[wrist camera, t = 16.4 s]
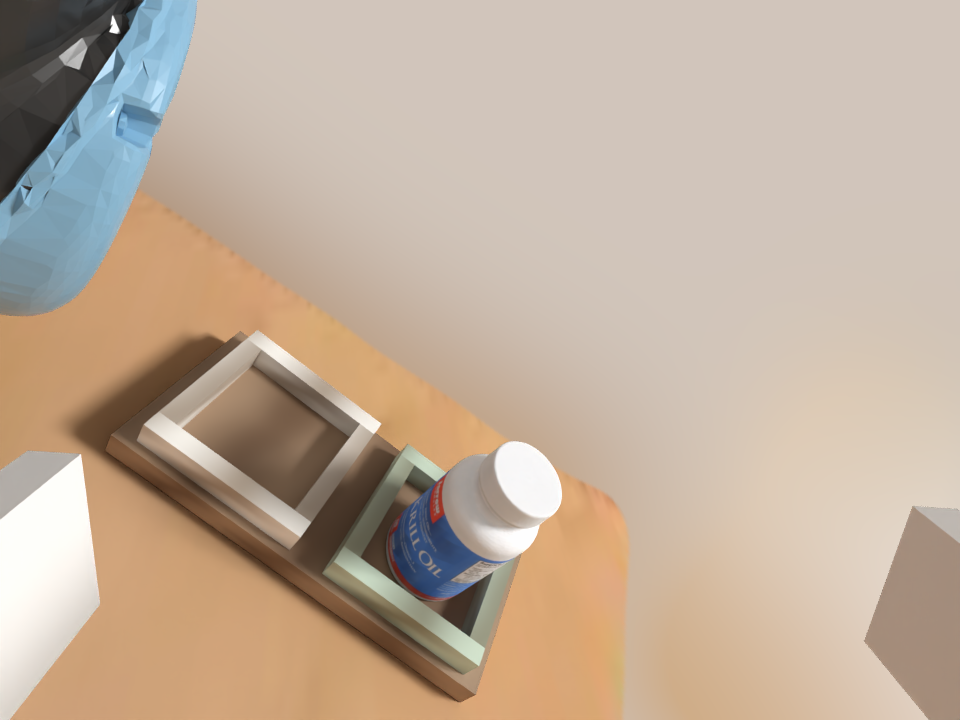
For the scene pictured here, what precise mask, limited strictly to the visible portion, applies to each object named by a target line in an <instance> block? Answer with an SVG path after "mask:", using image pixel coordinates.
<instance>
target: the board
mask: <svg viewBox="0 0 960 720" xmlns="http://www.w3.org/2000/svg"><path fill="white" fill-rule="evenodd" d="M380 425H381V423H380V422H378V421H377V420H376V419H374V418H373V417H372V416H370V415H369V414H368V413H366V412H365V411H364V410H362V409H361V408H360V407H358V406H357V405H356V404H355V403H353V402H352V401H351V400H349V399H348V398H347V397H345V396H344V395H343V394H341V393H340V392H339V391H337V390H336V389H335V388H333V387H332V386H331V385H329V384H328V383H327V382H325V381H324V380H323V379H322V378H320V377H319V376H318V375H316V374H315V373H314V372H312V371H311V370H310V369H308V368H307V367H306V366H304V365H303V364H302V363H300V362H299V361H298V360H296V359H295V358H294V357H292V356H291V355H290V354H289V353H287V352H286V351H285V350H283V349H282V348H281V347H279V346H278V345H277V344H275V343H274V342H273V341H271V340H270V339H269V338H267V337H266V336H265V335H263V334H262V333H261V332H259V331H258V330H257V331H256V332H254V333H253V334H252V335H251V336H250V337H248V336H246V335H245V334H244V333H242V332H241V331H240V332H239V333H237V334H236V335H235V336H234V337H232V338H231V339H230V340H229V341H227V342H226V343H225V344H224V345H222V346H221V347H220V348H219V349H217V350H216V351H215V352H214V353H212V354H211V355H210V356H209V357H207V358H206V359H205V360H204V361H202V362H201V363H200V364H199V365H197V366H196V367H195V368H194V369H192V370H191V371H190V372H189V373H187V374H186V375H185V376H184V377H182V378H181V379H180V380H179V381H177V382H176V383H175V384H174V385H172V386H171V387H170V388H169V389H167V390H166V391H165V392H164V393H162V394H161V395H160V396H159V397H157V398H156V399H155V400H154V401H152V402H151V403H150V404H149V405H147V406H146V407H145V408H144V409H142V410H141V411H140V412H139V413H137V414H136V415H135V416H134V417H132V418H131V419H130V420H129V421H127V422H126V423H125V424H124V425H122V426H121V427H120V428H119V429H117V430H116V431H115V432H114V433H112V434H111V436H110V438H109V441H108V444H107V447H106V449H105V451H106V452H108V453H109V454H110V455H112V456H113V457H115V458H116V459H118V460H119V461H120V462H122V463H123V464H125V465H126V466H127V467H129V468H130V469H132V470H133V471H134V472H136V473H137V474H139V475H140V476H141V477H143V478H144V479H146V480H147V481H149V482H150V483H151V484H153V485H154V486H156V487H157V488H158V489H160V490H161V491H163V492H164V493H165V494H167V495H168V496H170V497H171V498H173V499H174V500H175V501H177V502H178V503H180V504H181V505H182V506H184V507H185V508H187V509H188V510H189V511H191V512H192V513H194V514H195V515H196V516H198V517H199V518H201V519H202V520H204V521H205V522H206V523H208V524H209V525H211V526H212V527H213V528H215V529H216V530H218V531H219V532H220V533H222V534H223V535H225V536H226V537H227V538H229V539H230V540H232V541H233V542H235V543H236V544H237V545H239V546H240V547H242V548H243V549H244V550H246V551H247V552H249V553H250V554H251V555H253V556H254V557H256V558H257V559H258V560H260V561H261V562H263V563H264V564H266V565H267V566H268V567H270V568H271V569H273V570H274V571H275V572H277V573H278V574H280V575H281V576H282V577H284V578H285V579H287V580H288V581H290V582H291V583H292V584H294V585H295V586H297V587H298V588H299V589H301V590H302V591H304V592H305V593H306V594H308V595H309V596H311V597H312V598H313V599H315V600H316V601H318V602H319V603H321V604H322V605H323V606H325V607H326V608H328V609H329V610H330V611H332V612H333V613H335V614H336V615H337V616H339V617H340V618H342V619H343V620H344V621H346V622H347V623H349V624H350V625H352V626H353V627H354V628H356V629H357V630H359V631H360V632H361V633H363V634H364V635H366V636H367V637H368V638H370V639H371V640H373V641H374V642H375V643H377V644H378V645H380V646H381V647H383V648H384V649H385V650H387V651H388V652H390V653H391V654H392V655H394V656H395V657H397V658H398V659H399V660H401V661H402V662H404V663H405V664H407V665H408V666H409V667H411V668H412V669H414V670H415V671H416V672H418V673H419V674H421V675H422V676H423V677H425V678H426V679H428V680H429V681H430V682H432V683H433V684H435V685H436V686H438V687H439V688H440V689H442V690H443V691H445V692H446V693H447V694H449V695H450V696H452V697H453V698H454V699H456V700H457V701H459V702H462V701H464V700H466V699H468V698H470V697H472V696H474V695H476V692H477V689H478V686H479V683H480V680H481V677H482V673H483V670H484V667H485V664H486V661H487V658H488V655H489V652H490V649H491V646H492V643H493V640H494V637H495V634H496V631H497V627H498V624H499V621H500V618H501V615H502V612H503V609H504V606H505V603H506V600H507V597H508V594H509V591H510V588H511V585H512V581H513V578H514V575H515V572H516V569H517V566H518V563H519V560H520V557H521V554H522V553H521V554H519V555H518V556H516V557H515V558H513V559H512V560H510V561H509V562H507V563H506V564H504V565H503V566H501V567H499V568H498V569H496V570H495V571H493V572H492V573H490V574H488V575H487V576H485V577H484V578H482V579H481V580H479V581H477V582H476V583H474V584H473V585H471V586H470V587H468V588H467V589H465V590H464V591H462V592H461V593H459V594H457V595H456V596H454V597H452V598H450V599H447V600H443V601H427V600H423V599H420V598H418V597H416V596H414V595H412V594H410V593H409V592H407V591H406V590H405V589H404V588H403V587H402V586H401V585H400V584H399V583H398V582H397V580H396V579H395V577H394V576H393V574H392V572H391V570H390V567H389V564H388V561H387V556H386V539H387V534H388V531H389V529H390V527H391V525H392V523H393V522H394V520H395V519H396V518H397V517H398V516H399V515H400V514H401V513H402V512H403V511H404V510H405V509H407V508H408V507H409V506H410V505H411V504H412V503H413V502H414V501H416V500H417V499H418V498H419V497H420V496H421V495H422V494H423V493H425V492H426V491H427V490H428V489H429V488H430V487H431V486H432V485H434V484H435V483H436V482H437V481H438V480H439V479H440V478H441V477H443V476H444V475H445V474H446V472H444V471H443V470H442V469H440V468H439V467H438V466H436V465H435V464H434V463H432V462H431V461H430V460H428V459H427V458H426V457H424V456H423V455H422V454H420V453H419V452H418V451H417V450H415V449H414V448H413V447H411V446H410V445H409V444H407V446H406V447H405V448H404V449H403V450H402V451H401V452H400V451H399V450H397V449H396V448H395V447H393V446H392V445H391V444H390V443H388V442H387V441H386V440H384V439H383V438H382V437H380V436H379V435H378V434H376V433H375V432H376V431H377V429H378V428H379V426H380Z"/></svg>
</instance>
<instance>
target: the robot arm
mask: <svg viewBox="0 0 960 720" xmlns="http://www.w3.org/2000/svg"><path fill="white" fill-rule="evenodd" d="M196 7H197V0H0V314H3V315H9V316H34V315H40V314H44V313H48V312H51V311H53V310H55V309H58V308H60V307H61V306H63V305H65V304H67V303H68V302H70V301H71V300H72V299H74V298H75V297H76V296H77V295H78V294H79V293H80V292H81V291H82V290H83V289H84V288H85V286H86V285H87V284H88V282H89V281H90V280H91V278H92V277H93V275H94V274H95V272H96V271H97V269H98V267H99V266H100V264H101V262H102V261H103V259H104V257H105V255H106V254H107V252H108V250H109V248H110V246H111V244H112V242H113V240H114V238H115V236H116V234H117V232H118V230H119V228H120V226H121V224H122V222H123V220H124V218H125V215H126V213H127V211H128V209H129V207H130V204H131V202H132V200H133V198H134V195H135V193H136V191H137V189H138V186H139V183H140V181H141V178H142V176H143V174H144V171H145V169H146V166H147V163H148V161H149V158H150V154H151V149H152V137H153V136H154V135H155V134H156V133H157V132H158V131H159V128H160V126H161V123H162V120H163V116H164V114H165V112H166V110H167V108H168V106H169V104H170V102H171V100H172V98H173V96H174V93H175V90H176V87H177V84H178V81H179V78H180V75H181V72H182V69H183V65H184V62H185V59H186V55H187V52H188V49H189V45H190V41H191V37H192V33H193V28H194V24H195V17H196ZM99 605H100V599H99V591H98V584H97V576H96V568H95V560H94V552H93V545H92V537H91V529H90V521H89V513H88V506H87V498H86V490H85V482H84V475H83V467H82V459H81V454H73V453H57V452H41V451H27V452H25V453H24V454H22V455H21V456H20V457H18V458H17V459H15V460H14V461H13V462H11V463H10V464H8V465H7V466H6V467H4V468H3V469H1V470H0V720H10V719H11V717H12V716H13V715H14V713H15V712H16V711H17V710H18V708H19V707H20V706H21V705H22V703H23V702H24V701H25V699H26V698H27V697H28V696H29V694H30V693H31V692H32V690H33V689H34V688H35V687H36V685H37V684H38V683H39V682H40V680H41V679H42V678H43V676H44V675H45V674H46V673H47V671H48V670H49V669H50V667H51V666H52V665H53V664H54V662H55V661H56V660H57V659H58V657H59V656H60V655H61V653H62V652H63V651H64V650H65V648H66V647H67V646H68V644H69V643H70V642H71V641H72V639H73V638H74V637H75V636H76V634H77V633H78V632H79V630H80V629H81V628H82V627H83V625H84V624H85V623H86V621H87V620H88V619H89V618H90V616H91V615H92V614H93V613H94V611H95V610H96V609H97V607H98V606H99ZM865 643H866V644H867V645H868V646H869V647H870V649H871V650H872V651H873V652H874V653H875V655H876V656H877V657H878V658H879V660H880V661H881V662H882V663H883V665H884V666H885V667H886V668H887V669H888V670H889V672H890V673H891V674H892V675H893V677H894V678H895V679H896V680H897V682H898V683H899V684H900V685H901V686H902V687H903V689H904V690H905V691H906V692H907V694H908V695H909V696H910V697H911V699H912V700H913V701H914V702H915V703H916V705H917V706H918V707H919V708H920V709H921V711H922V712H923V713H924V714H925V716H926V717H927V718H928V719H929V720H960V511H959V510H958V509H950V508H934V507H918V506H913V507H912V509H911V512H910V515H909V518H908V521H907V523H906V527H905V529H904V532H903V534H902V538H901V540H900V543H899V546H898V549H897V551H896V554H895V557H894V560H893V562H892V565H891V568H890V571H889V573H888V577H887V579H886V582H885V585H884V587H883V590H882V593H881V596H880V599H879V601H878V604H877V607H876V610H875V613H874V615H873V618H872V621H871V624H870V626H869V630H868V632H867V635H866V637H865Z"/></svg>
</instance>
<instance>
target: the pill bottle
mask: <svg viewBox="0 0 960 720" xmlns="http://www.w3.org/2000/svg"><path fill="white" fill-rule="evenodd" d="M561 498H562V491H561V485H560V481H559V478H558V475H557V473H556V471H555V469H554V468H553V466H552V465H551V463H550V462H549V460H548V459H547V458H546V457H545V456H544V455H543V454H542V453H541V452H539V451H538V450H537V449H535V448H534V447H532V446H531V445H528V444H526V443H523V442H518V441H511V442H507V443H504V444H502V445H501V446H500V447H498V448H497V449H496V450H495V451H493V452H492V453H490V454H489V455H488V454H477V455H472V456H469V457H467V458H465V459H463V460H461V461H460V462H459V463H457V464H456V465H455V466H454V467H453V468H452V469H450V470H449V471H448V472H447V473H446V474H445V475H444V476H443V477H441V478H440V479H439V480H438V481H437V482H436V483H435V484H434V485H432V486H431V487H430V488H429V489H428V490H427V491H426V492H425V493H423V494H422V495H421V496H420V497H419V498H418V499H417V500H416V501H414V502H413V503H412V504H411V505H410V506H409V507H408V508H407V509H405V510H404V511H403V512H402V513H401V514H400V515H399V516H398V517H397V518H396V519H395V520H394V522H393V523H392V525H391V527H390V529H389V531H388V534H387V539H386V556H387V561H388V564H389V567H390V570H391V572H392V574H393V576H394V577H395V579H396V580H397V582H398V583H399V584H400V585H401V586H402V587H403V588H404V589H405V590H406V591H407V592H409V593H410V594H412V595H414V596H416V597H418V598H420V599H423V600H427V601H443V600H447V599H450V598H452V597H454V596H456V595H457V594H459V593H461V592H462V591H464V590H465V589H467V588H468V587H470V586H471V585H473V584H474V583H476V582H477V581H479V580H481V579H482V578H484V577H485V576H487V575H488V574H490V573H492V572H493V571H495V570H496V569H498V568H499V567H501V566H503V565H504V564H506V563H507V562H509V561H510V560H512V559H513V558H515V557H516V556H518V555H519V554H521V553H522V552H524V551H525V550H526V549H527V548H528V547H529V546H530V545H531V544H532V542H533V541H534V539H535V537H536V535H537V532H538V528H539V525H540V524H541V523H542V522H543V521H545V520H546V519H547V518H549V517H550V516H551V515H553V514H554V513H555V512H556V511H557V509H558V508H559V506H560V503H561Z"/></svg>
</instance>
